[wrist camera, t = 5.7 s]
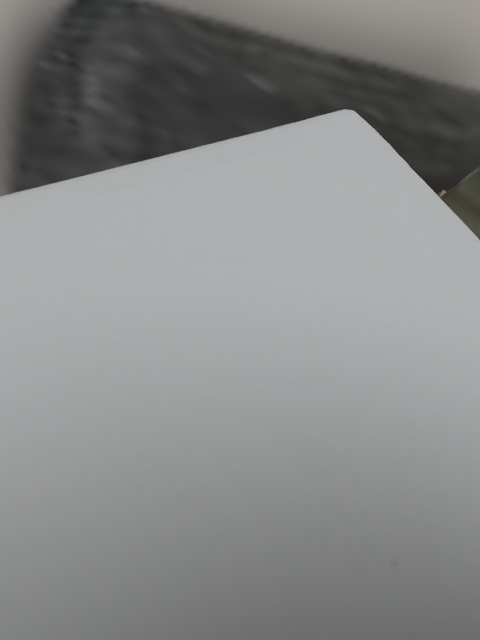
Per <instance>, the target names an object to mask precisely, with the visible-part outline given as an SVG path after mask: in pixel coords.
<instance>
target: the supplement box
mask: <svg viewBox="0 0 480 640" xmlns="http://www.w3.org/2000/svg"><path fill="white" fill-rule="evenodd" d="M0 640H480V240H479V239H478V237H477V236H476V235H475V234H474V233H473V232H472V231H471V230H470V229H469V228H468V227H467V226H466V225H465V224H464V223H463V221H462V220H461V219H460V218H459V217H458V216H457V215H456V214H455V213H454V212H453V211H452V210H451V209H450V208H449V207H448V206H447V205H446V204H445V203H444V202H443V201H442V200H441V199H440V197H439V196H438V195H437V194H436V193H435V192H434V191H433V190H432V189H431V188H430V187H429V186H428V185H427V184H426V183H425V182H424V181H423V180H422V179H421V178H420V177H419V176H418V175H417V174H416V173H415V172H414V171H413V170H412V169H411V168H410V166H409V165H408V164H407V163H406V161H405V160H404V159H402V158H401V157H400V156H399V155H398V154H397V153H396V151H395V150H394V149H393V148H392V147H391V145H390V144H389V143H388V142H387V141H385V140H384V139H383V138H382V137H381V136H380V135H379V134H378V133H377V132H376V130H375V129H374V128H372V127H371V126H370V125H369V124H368V123H367V122H366V121H365V120H364V119H363V118H361V117H360V116H359V115H358V114H357V113H356V112H355V111H353V110H346V109H344V110H340V111H336V112H332V113H329V114H325V115H321V116H317V117H313V118H310V119H306V120H303V121H299V122H295V123H291V124H287V125H283V126H279V127H275V128H272V129H268V130H265V131H261V132H257V133H253V134H249V135H245V136H241V137H237V138H233V139H229V140H225V141H221V142H217V143H213V144H209V145H205V146H201V147H197V148H193V149H189V150H185V151H181V152H177V153H173V154H169V155H165V156H161V157H157V158H153V159H149V160H145V161H141V162H137V163H133V164H129V165H125V166H121V167H117V168H113V169H109V170H105V171H101V172H97V173H93V174H89V175H85V176H81V177H77V178H73V179H69V180H65V181H61V182H57V183H53V184H49V185H45V186H41V187H37V188H33V189H29V190H25V191H21V192H17V193H13V194H8V195H4V196H0Z"/></svg>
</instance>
